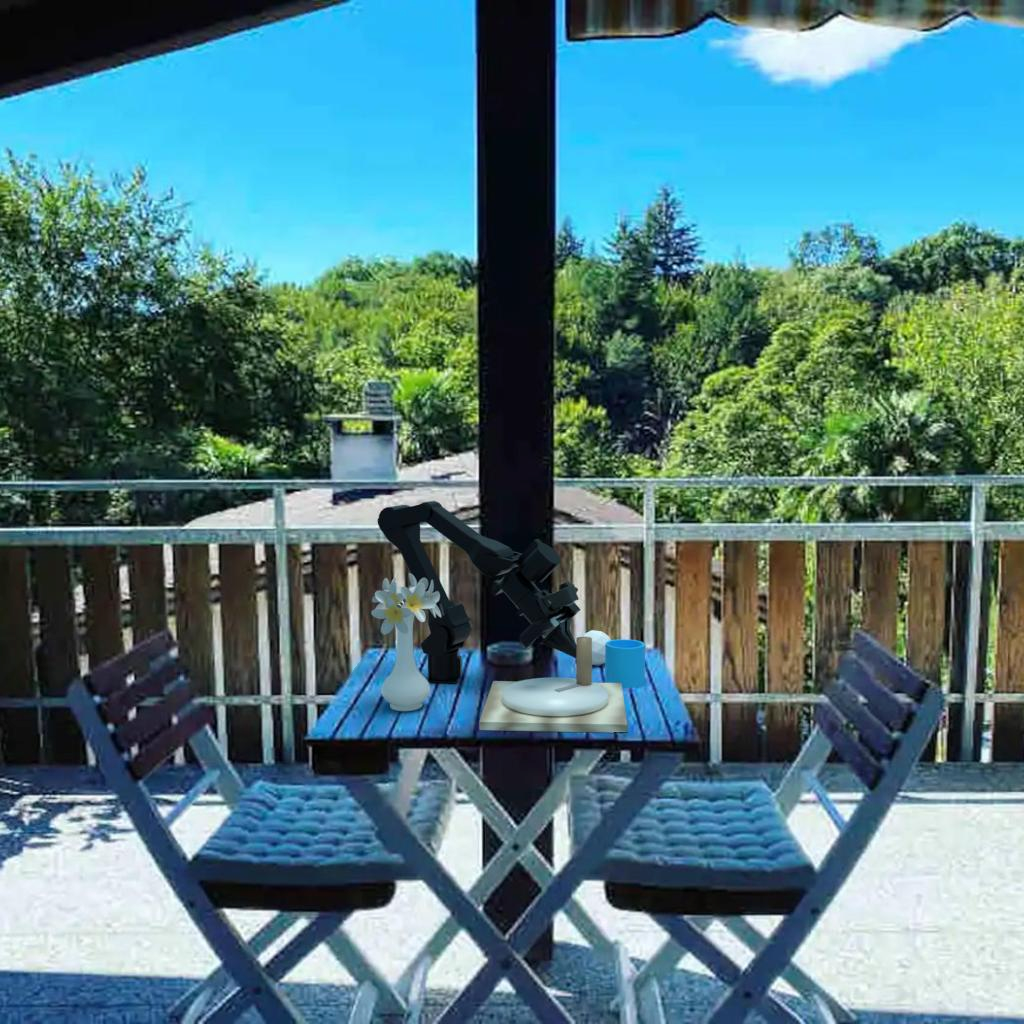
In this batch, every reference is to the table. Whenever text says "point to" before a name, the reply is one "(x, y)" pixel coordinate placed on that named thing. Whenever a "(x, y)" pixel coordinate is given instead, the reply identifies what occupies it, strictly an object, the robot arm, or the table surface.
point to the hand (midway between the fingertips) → (578, 656)
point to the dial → (560, 690)
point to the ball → (598, 646)
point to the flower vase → (405, 639)
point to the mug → (625, 662)
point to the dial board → (511, 720)
